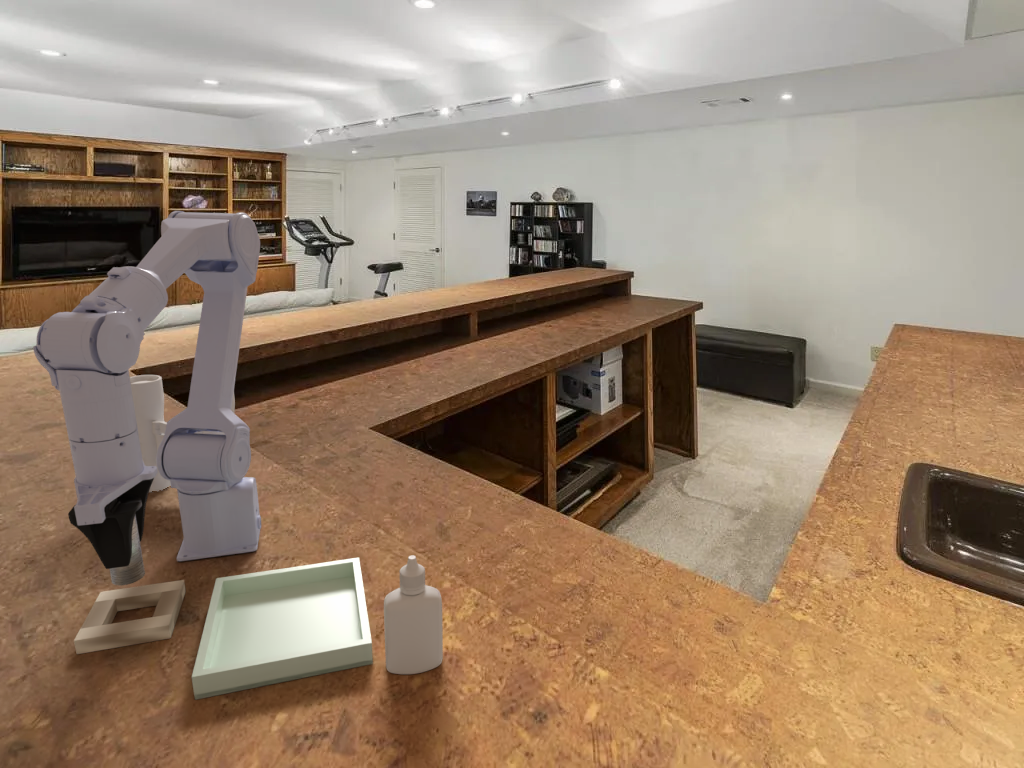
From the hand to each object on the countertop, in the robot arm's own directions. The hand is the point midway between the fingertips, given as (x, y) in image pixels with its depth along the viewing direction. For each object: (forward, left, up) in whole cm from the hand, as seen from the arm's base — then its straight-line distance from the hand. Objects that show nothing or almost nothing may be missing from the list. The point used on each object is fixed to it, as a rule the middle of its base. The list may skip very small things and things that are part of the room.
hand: (124, 553), depth 63 cm
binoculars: (0, -34, -8) cm, 35 cm away
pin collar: (0, 0, -8) cm, 8 cm away
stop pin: (0, 0, -3) cm, 3 cm away
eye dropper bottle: (-28, +15, -8) cm, 33 cm away
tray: (-16, +6, -8) cm, 19 cm away
